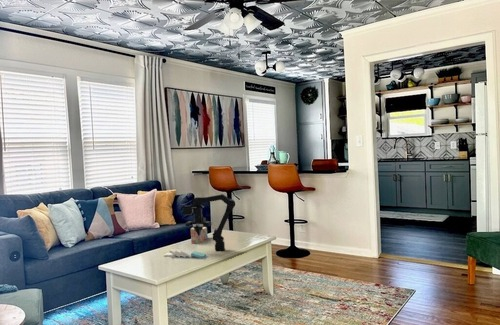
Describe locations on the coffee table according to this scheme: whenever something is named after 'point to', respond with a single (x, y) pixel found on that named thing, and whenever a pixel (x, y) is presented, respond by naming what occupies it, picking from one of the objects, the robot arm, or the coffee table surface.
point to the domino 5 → (198, 254)
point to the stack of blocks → (197, 239)
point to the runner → (191, 258)
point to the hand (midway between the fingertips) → (199, 235)
